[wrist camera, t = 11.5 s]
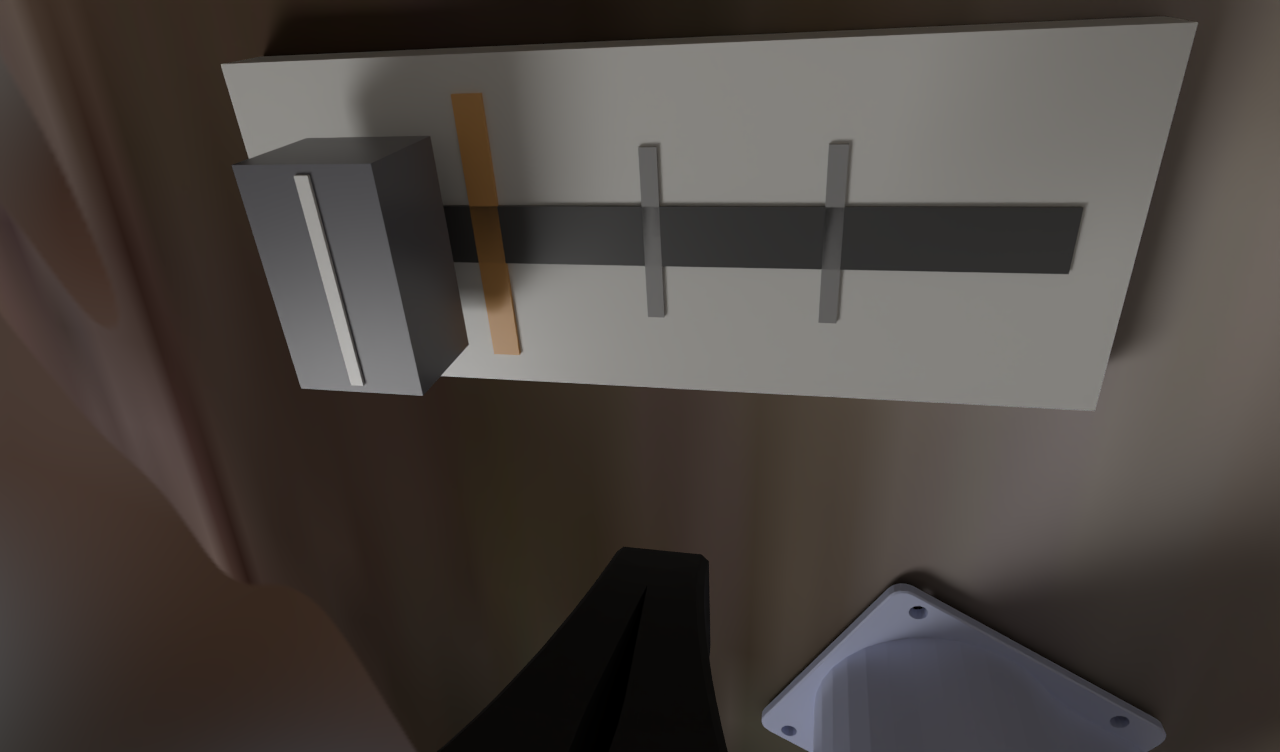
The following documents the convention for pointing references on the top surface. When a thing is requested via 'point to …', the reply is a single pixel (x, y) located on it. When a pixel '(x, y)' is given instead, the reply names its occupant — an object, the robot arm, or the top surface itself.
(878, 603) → the robot arm
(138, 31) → the top surface
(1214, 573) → the top surface
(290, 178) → the fader knob
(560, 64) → the fader board
